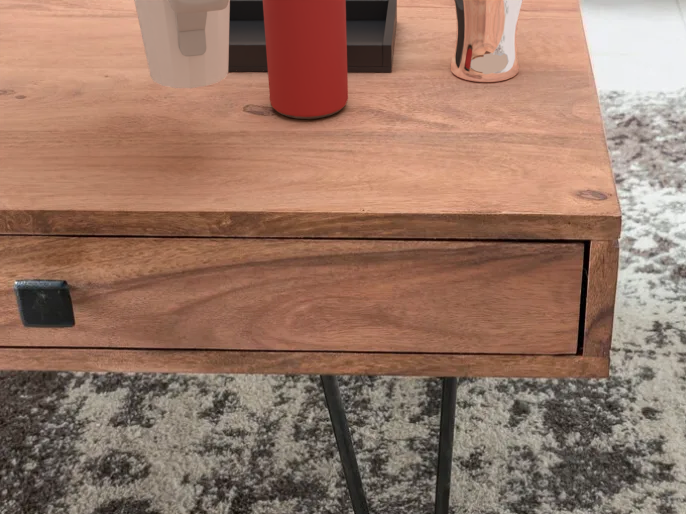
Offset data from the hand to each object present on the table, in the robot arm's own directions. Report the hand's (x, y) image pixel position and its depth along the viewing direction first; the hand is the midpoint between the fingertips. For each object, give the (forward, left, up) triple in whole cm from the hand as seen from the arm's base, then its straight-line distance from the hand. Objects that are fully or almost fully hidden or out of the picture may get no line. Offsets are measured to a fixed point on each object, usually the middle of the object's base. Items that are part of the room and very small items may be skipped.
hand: (185, 38), depth 75 cm
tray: (+13, +23, -10) cm, 28 cm away
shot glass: (0, 0, -3) cm, 3 cm away
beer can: (+11, +8, -10) cm, 16 cm away
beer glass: (+28, +11, -10) cm, 31 cm away
